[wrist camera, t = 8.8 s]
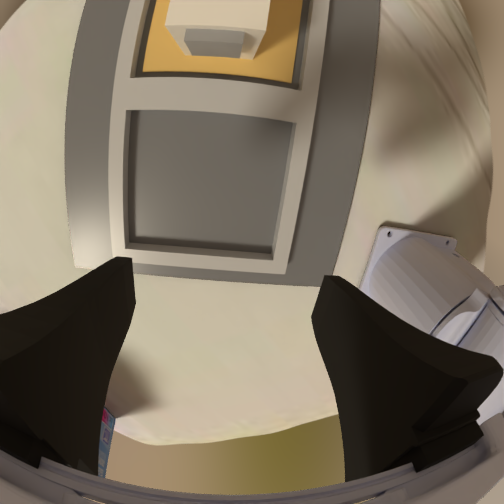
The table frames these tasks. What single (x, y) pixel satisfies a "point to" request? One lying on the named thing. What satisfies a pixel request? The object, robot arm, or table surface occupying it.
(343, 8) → the grey flat tray
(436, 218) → the table surface
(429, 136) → the table surface
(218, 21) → the plug
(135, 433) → the table surface
